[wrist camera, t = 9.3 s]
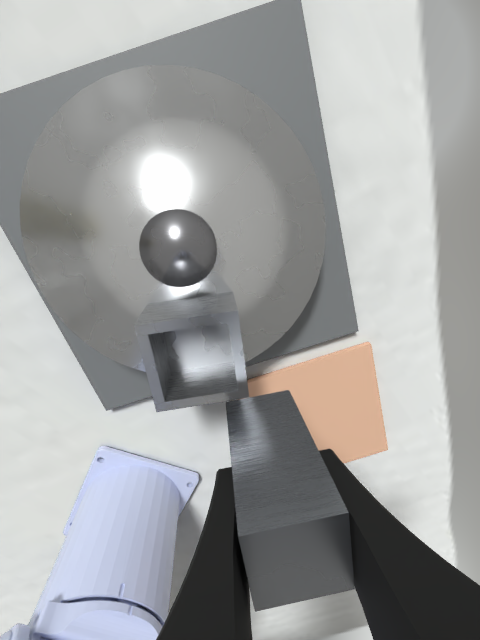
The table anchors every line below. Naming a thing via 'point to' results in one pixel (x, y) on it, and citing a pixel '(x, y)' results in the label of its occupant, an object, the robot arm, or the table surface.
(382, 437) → the mat
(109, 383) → the base plate
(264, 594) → the dark grey rectangular block
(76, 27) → the table surface
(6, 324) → the table surface
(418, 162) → the table surface
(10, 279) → the table surface
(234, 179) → the metal pot lid
